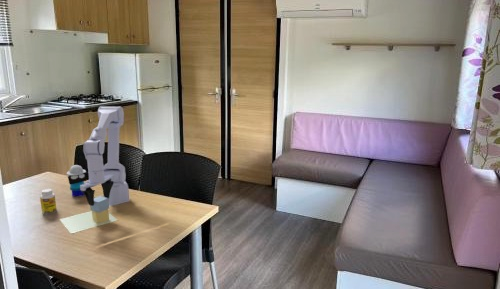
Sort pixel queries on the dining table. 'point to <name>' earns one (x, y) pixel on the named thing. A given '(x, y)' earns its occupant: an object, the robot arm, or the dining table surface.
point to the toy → (76, 179)
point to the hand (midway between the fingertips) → (99, 201)
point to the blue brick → (100, 204)
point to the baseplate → (83, 222)
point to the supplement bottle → (48, 201)
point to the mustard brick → (100, 216)
